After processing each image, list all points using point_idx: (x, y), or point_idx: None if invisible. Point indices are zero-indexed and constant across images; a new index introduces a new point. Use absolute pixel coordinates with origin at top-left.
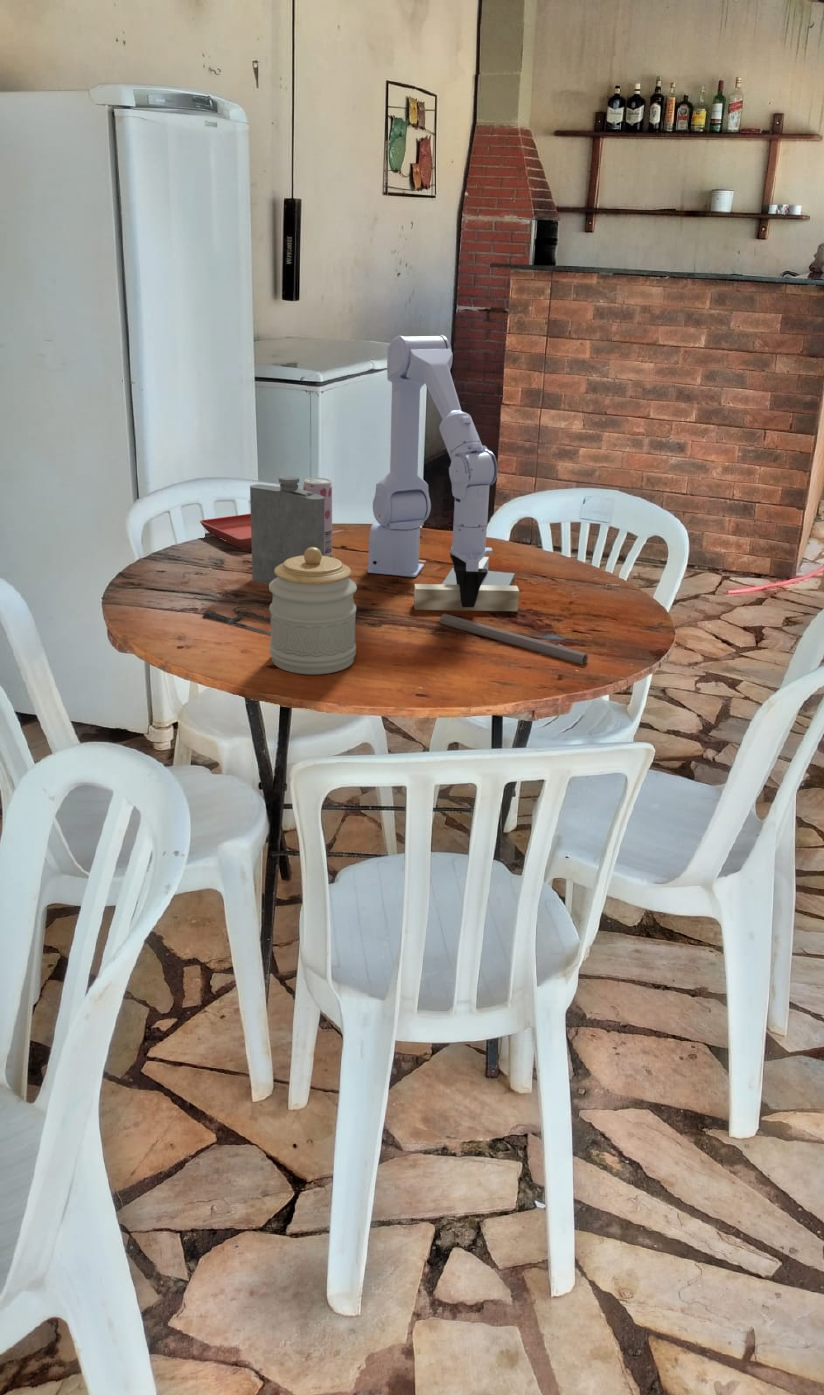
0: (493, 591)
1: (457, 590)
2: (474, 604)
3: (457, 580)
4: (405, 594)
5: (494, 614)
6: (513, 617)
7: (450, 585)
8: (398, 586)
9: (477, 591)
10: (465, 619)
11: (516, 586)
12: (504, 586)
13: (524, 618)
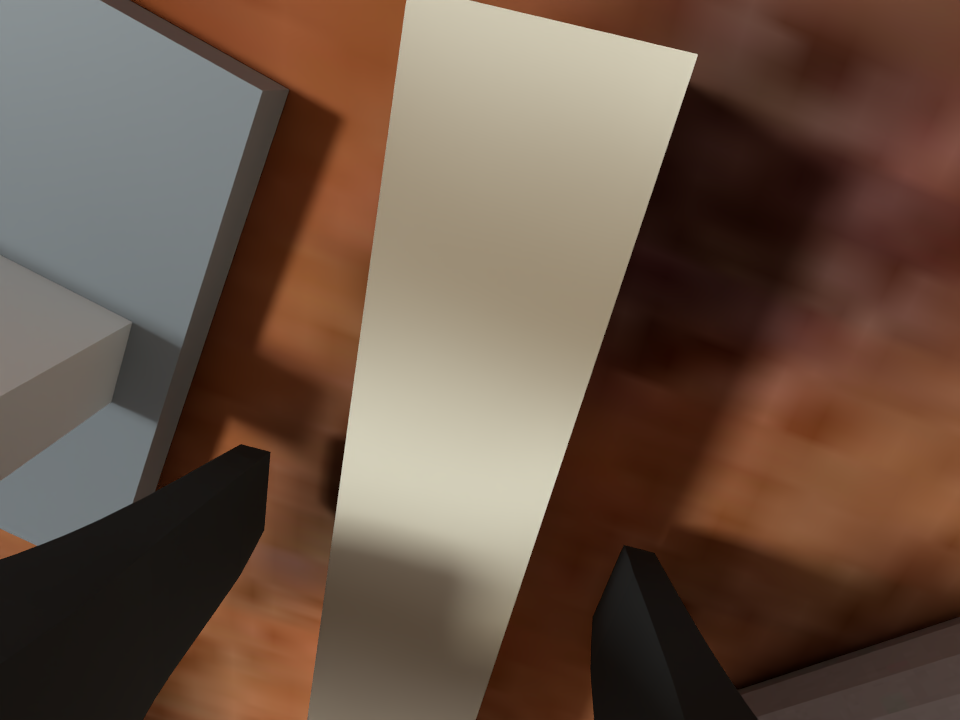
0: (573, 417)
1: (476, 711)
2: (664, 573)
3: (197, 631)
4: (159, 702)
5: (674, 340)
6: (827, 191)
7: (338, 717)
8: None
9: (737, 698)
10: (923, 705)
11: (452, 10)
12: (431, 220)
13: (912, 75)
